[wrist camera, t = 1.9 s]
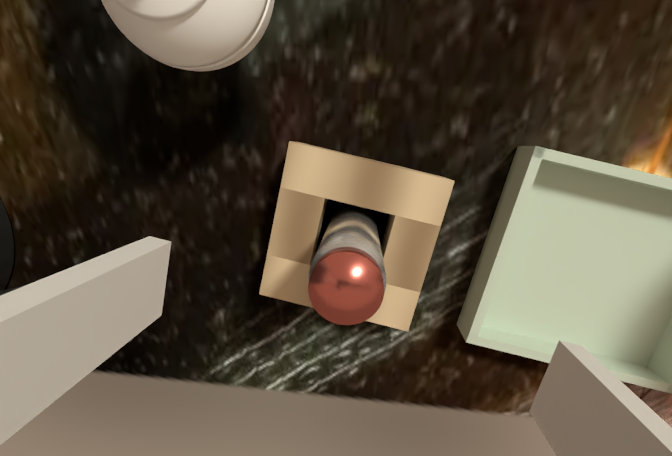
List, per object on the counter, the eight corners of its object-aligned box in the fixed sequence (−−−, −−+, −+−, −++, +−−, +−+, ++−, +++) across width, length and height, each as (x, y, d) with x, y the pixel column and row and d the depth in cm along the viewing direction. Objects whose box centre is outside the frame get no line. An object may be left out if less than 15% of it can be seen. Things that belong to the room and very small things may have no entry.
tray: (456, 324, 26) (466, 342, 24) (517, 146, 23) (535, 146, 21) (645, 371, 26) (675, 394, 24) (732, 197, 23) (775, 203, 21)
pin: (323, 246, 26) (296, 317, 15) (334, 200, 25) (314, 240, 14) (370, 258, 26) (376, 337, 15) (382, 212, 25) (397, 261, 14)
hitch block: (270, 278, 27) (259, 294, 24) (298, 141, 24) (289, 141, 21) (402, 310, 26) (407, 331, 23) (443, 177, 24) (454, 181, 21)
